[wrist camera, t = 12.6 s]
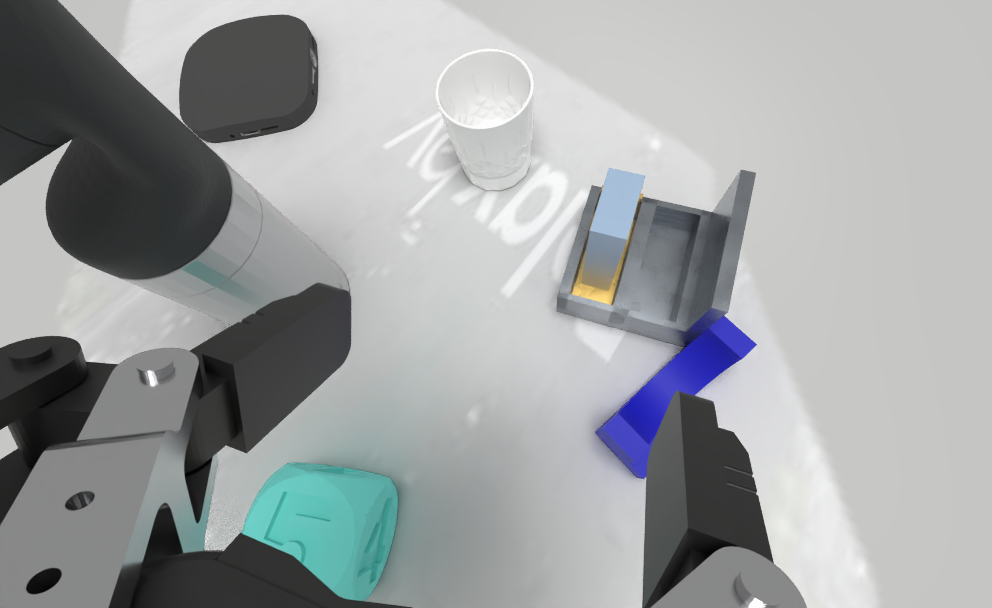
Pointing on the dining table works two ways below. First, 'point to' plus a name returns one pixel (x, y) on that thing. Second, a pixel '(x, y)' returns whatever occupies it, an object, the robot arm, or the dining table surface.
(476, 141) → the white cup
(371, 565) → the decorative dice
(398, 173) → the dining table surface
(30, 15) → the robot arm
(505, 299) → the dining table surface
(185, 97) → the media streaming box
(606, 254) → the light blue rectangular block
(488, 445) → the dining table surface
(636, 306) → the grey compartment holder
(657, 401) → the blue piece
